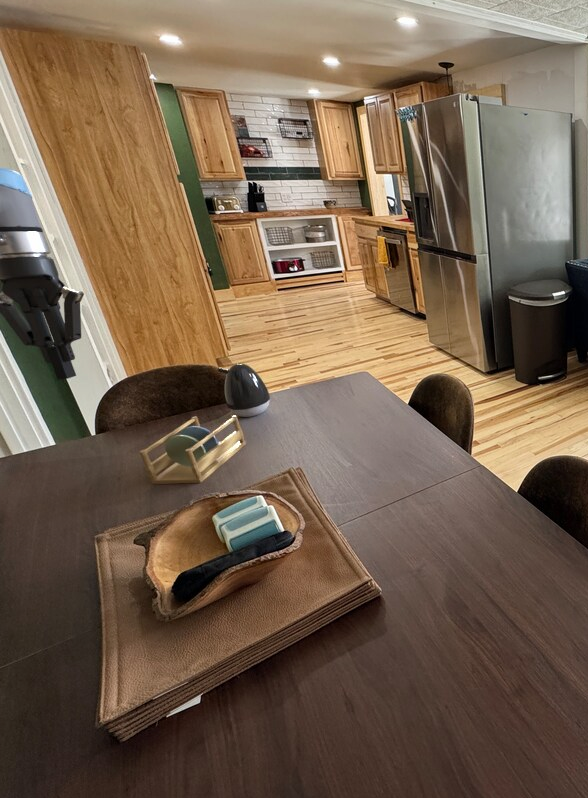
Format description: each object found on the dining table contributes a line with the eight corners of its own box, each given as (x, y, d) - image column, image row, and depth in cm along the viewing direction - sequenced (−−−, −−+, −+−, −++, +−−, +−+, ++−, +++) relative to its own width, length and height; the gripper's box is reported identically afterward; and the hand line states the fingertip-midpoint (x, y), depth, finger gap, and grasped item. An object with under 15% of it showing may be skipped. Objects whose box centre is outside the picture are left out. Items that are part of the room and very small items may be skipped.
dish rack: (201, 482, 103) (187, 446, 100) (152, 484, 103) (136, 448, 99) (246, 444, 118) (236, 411, 114) (204, 445, 117) (192, 412, 114)
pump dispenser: (241, 406, 140) (226, 358, 135) (279, 403, 142) (266, 356, 136) (222, 422, 131) (205, 372, 125) (263, 419, 133) (248, 370, 127)
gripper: (-44, 259, 83) (8, 387, 89) (53, 253, 87) (97, 376, 93) (-9, 259, 90) (37, 378, 96) (80, 254, 94) (119, 368, 100)
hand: (67, 377), depth 94 cm, fingers closed
